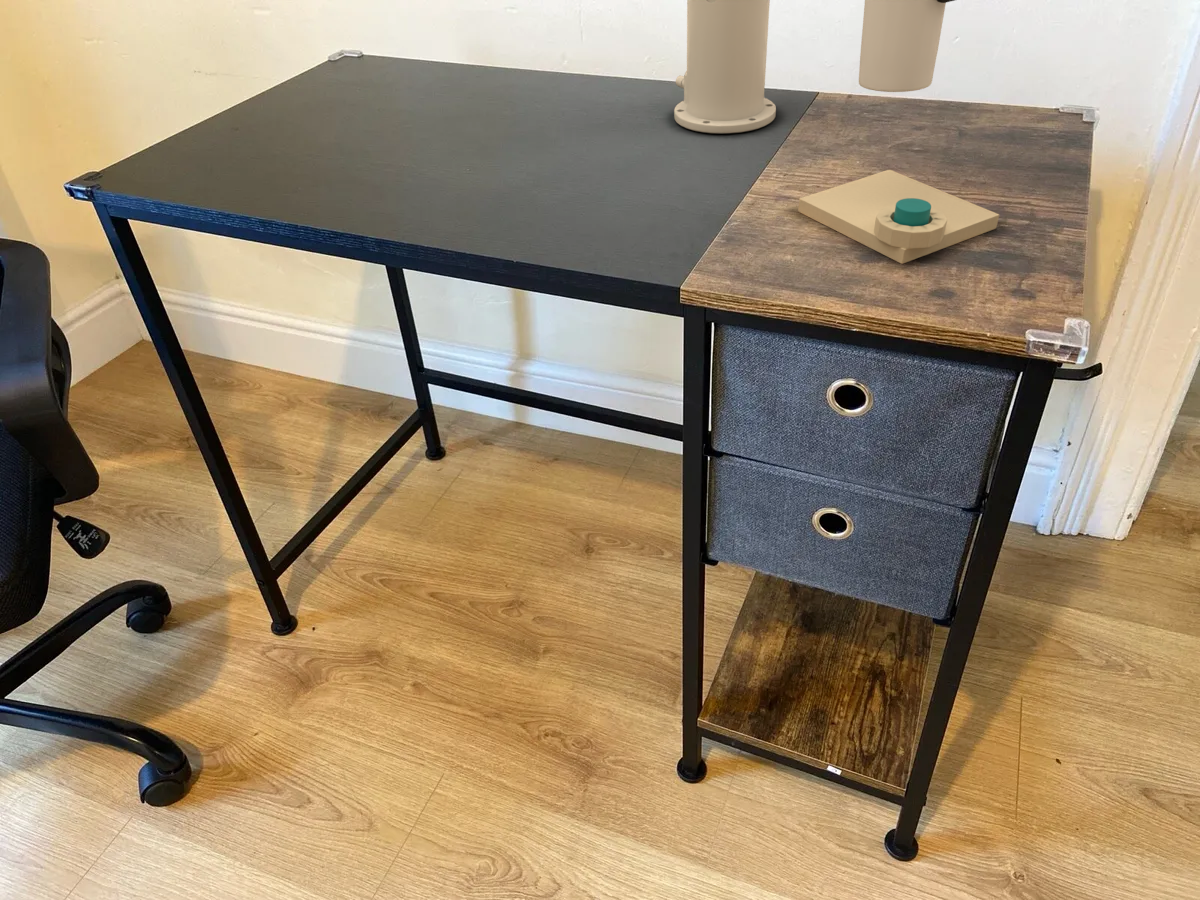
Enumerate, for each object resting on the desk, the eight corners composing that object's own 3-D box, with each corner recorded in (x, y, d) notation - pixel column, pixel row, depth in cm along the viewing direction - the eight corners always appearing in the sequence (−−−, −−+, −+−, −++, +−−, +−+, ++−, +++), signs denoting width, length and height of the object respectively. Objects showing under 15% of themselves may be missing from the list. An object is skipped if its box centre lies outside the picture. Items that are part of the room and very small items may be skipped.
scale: (794, 212, 87) (797, 183, 85) (887, 182, 92) (891, 154, 90) (906, 269, 77) (912, 237, 75) (1004, 232, 81) (1012, 201, 80)
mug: (923, 96, 74) (947, -69, 67) (845, 90, 77) (860, -68, 70) (951, 69, 81) (975, -83, 74) (878, 65, 84) (895, -81, 77)
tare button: (886, 219, 79) (888, 203, 78) (910, 211, 80) (913, 195, 79) (910, 231, 77) (913, 214, 76) (935, 222, 78) (938, 206, 77)
